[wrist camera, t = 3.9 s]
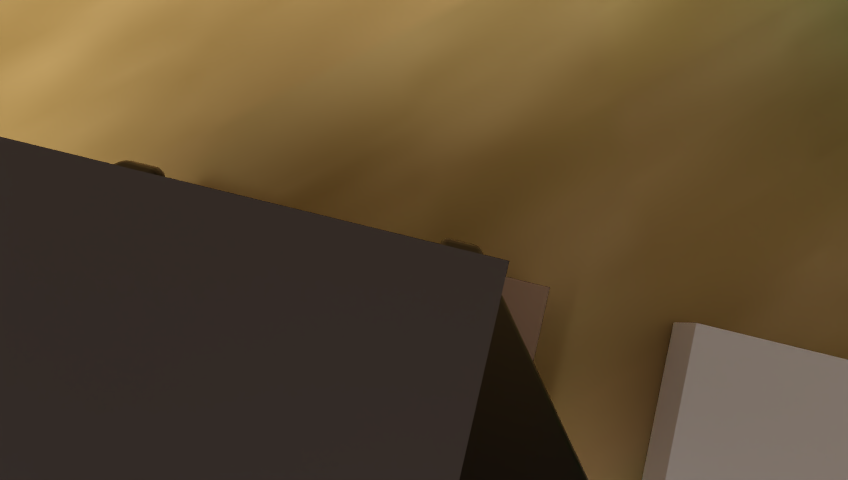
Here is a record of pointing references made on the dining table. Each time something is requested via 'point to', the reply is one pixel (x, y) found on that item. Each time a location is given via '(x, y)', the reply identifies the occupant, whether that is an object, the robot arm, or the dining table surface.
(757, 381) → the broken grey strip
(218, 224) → the grey post stand
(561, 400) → the dining table surface
